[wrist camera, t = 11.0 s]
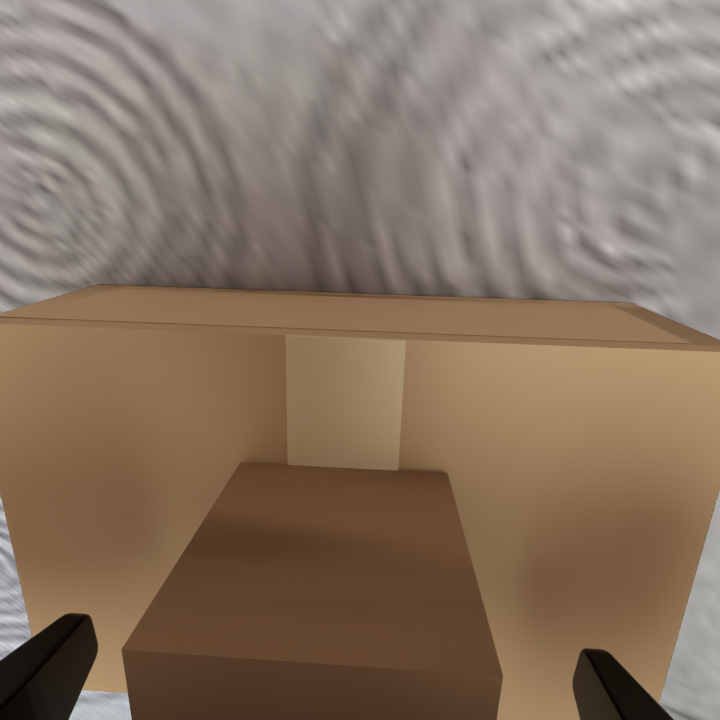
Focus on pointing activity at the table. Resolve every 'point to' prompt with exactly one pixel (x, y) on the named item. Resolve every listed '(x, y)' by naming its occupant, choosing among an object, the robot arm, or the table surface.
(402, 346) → the lid
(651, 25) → the table surface
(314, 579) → the walnut block
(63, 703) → the robot arm
